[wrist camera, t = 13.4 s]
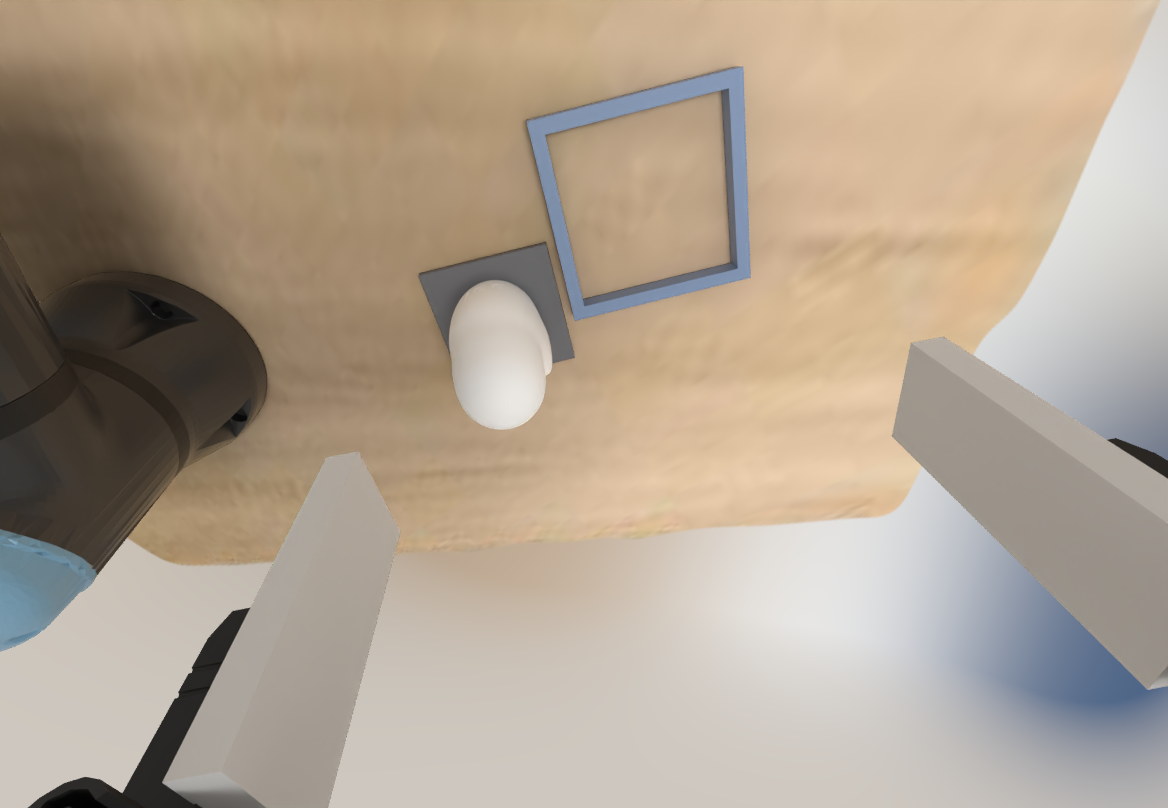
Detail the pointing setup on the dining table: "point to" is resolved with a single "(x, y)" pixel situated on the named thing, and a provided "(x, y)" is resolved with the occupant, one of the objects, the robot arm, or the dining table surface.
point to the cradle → (735, 174)
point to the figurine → (499, 355)
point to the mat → (515, 267)
